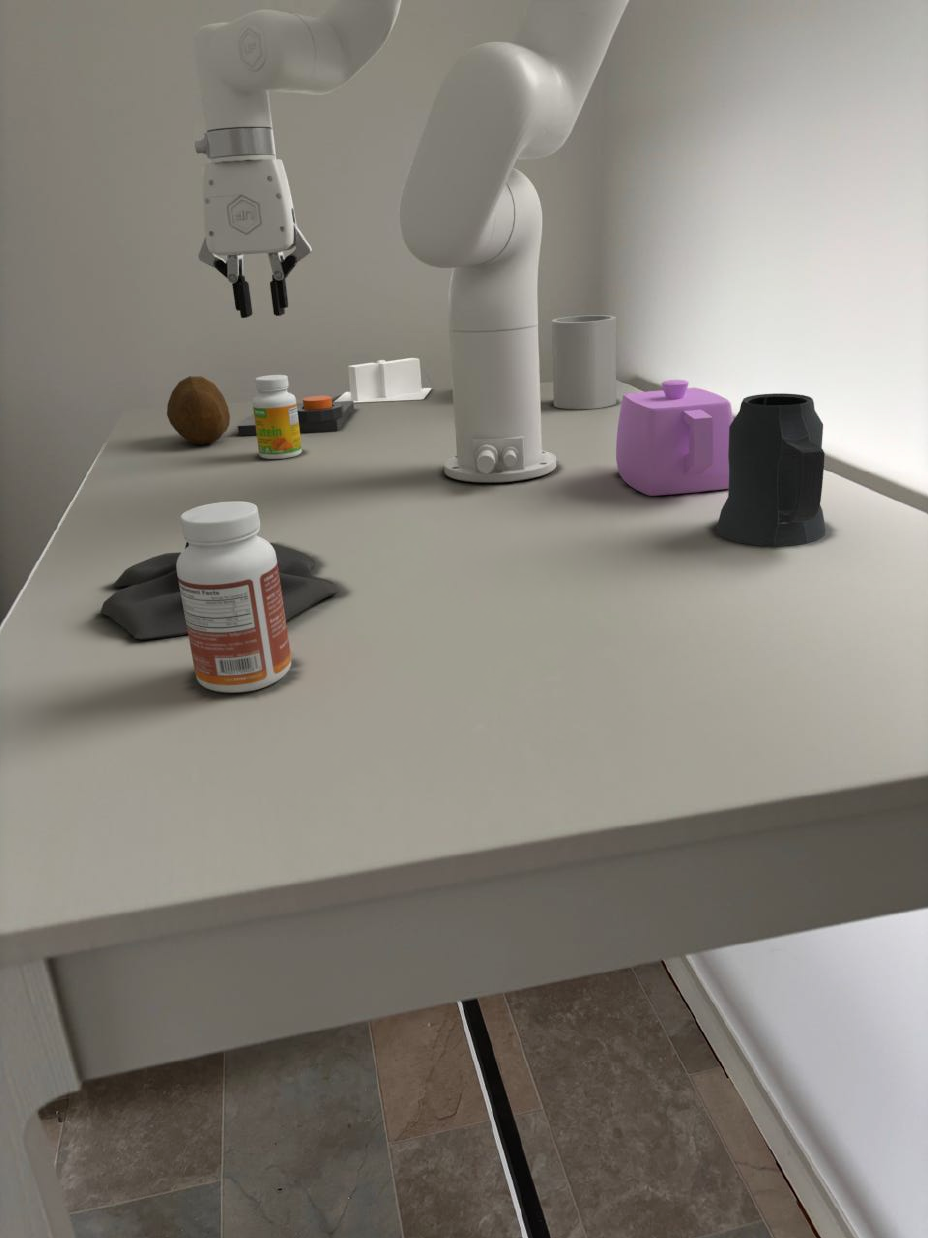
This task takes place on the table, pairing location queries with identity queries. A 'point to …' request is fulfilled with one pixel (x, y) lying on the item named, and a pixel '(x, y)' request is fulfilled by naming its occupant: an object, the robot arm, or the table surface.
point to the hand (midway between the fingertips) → (263, 314)
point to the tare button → (317, 402)
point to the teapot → (674, 440)
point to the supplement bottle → (276, 418)
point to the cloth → (159, 603)
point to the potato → (198, 410)
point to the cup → (584, 361)
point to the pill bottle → (232, 599)
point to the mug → (774, 472)
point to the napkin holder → (385, 381)
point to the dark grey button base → (310, 419)
